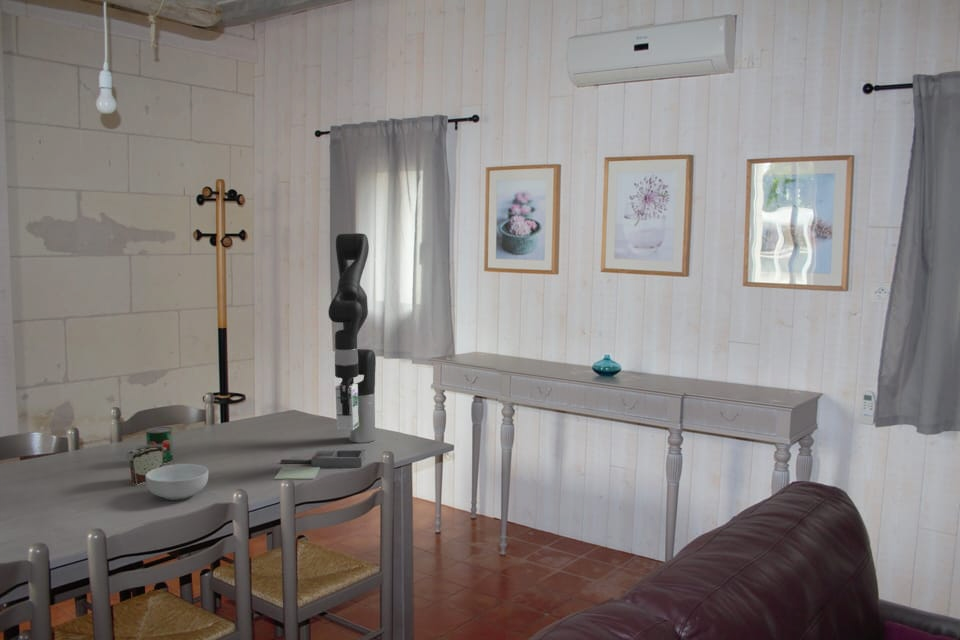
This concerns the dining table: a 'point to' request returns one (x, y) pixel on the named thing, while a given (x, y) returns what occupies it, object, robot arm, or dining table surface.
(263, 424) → the dining table surface
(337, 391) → the syrup box
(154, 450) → the slice of cake
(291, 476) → the sage mat
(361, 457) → the rectangular frying pan
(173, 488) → the cereal bowl
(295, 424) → the dining table surface
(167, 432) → the canned tomato
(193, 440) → the dining table surface
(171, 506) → the dining table surface
